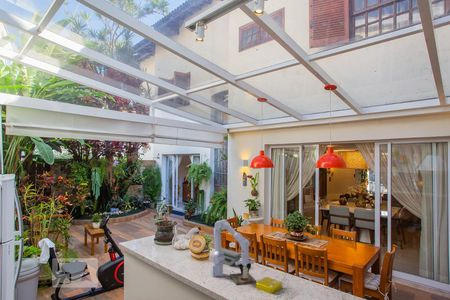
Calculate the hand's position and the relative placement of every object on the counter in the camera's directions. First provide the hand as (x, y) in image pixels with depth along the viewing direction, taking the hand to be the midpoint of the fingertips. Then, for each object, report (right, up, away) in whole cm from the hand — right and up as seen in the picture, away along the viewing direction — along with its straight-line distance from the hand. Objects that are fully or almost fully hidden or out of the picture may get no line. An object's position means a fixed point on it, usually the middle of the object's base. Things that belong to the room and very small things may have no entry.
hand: (244, 273), depth 208 cm
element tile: (+17, -6, -10) cm, 21 cm away
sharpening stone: (-13, -9, +39) cm, 41 cm away
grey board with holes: (-1, -6, +4) cm, 7 cm away
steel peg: (0, -3, 0) cm, 3 cm away
